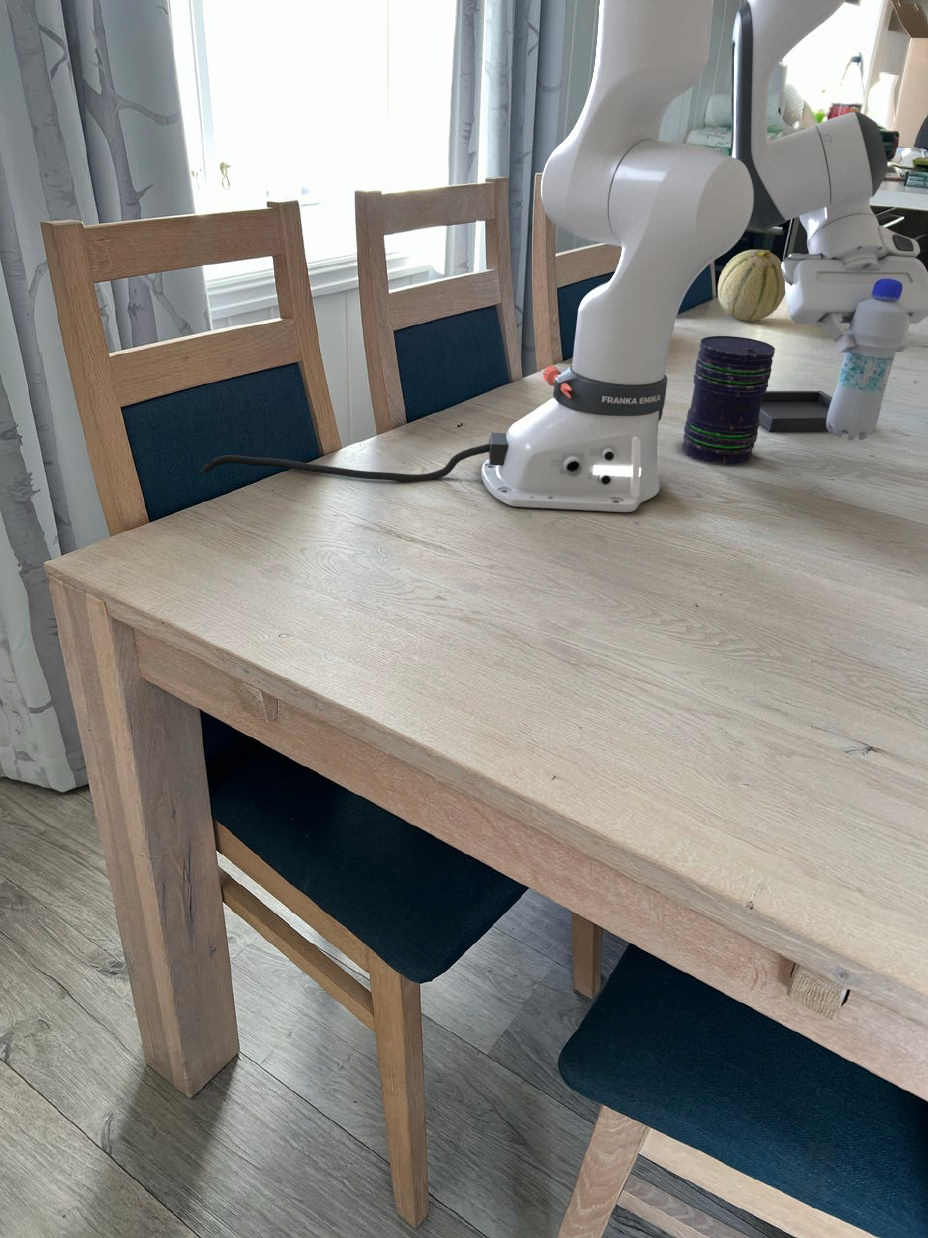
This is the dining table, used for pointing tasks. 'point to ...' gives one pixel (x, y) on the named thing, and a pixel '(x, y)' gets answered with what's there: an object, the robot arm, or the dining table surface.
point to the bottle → (868, 361)
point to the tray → (794, 411)
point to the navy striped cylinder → (727, 399)
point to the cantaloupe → (751, 285)
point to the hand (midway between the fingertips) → (874, 349)
